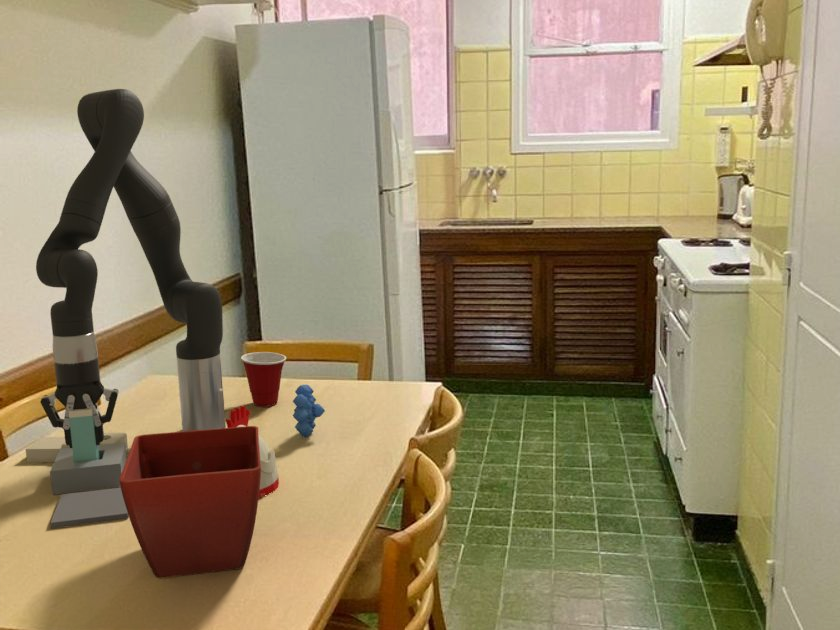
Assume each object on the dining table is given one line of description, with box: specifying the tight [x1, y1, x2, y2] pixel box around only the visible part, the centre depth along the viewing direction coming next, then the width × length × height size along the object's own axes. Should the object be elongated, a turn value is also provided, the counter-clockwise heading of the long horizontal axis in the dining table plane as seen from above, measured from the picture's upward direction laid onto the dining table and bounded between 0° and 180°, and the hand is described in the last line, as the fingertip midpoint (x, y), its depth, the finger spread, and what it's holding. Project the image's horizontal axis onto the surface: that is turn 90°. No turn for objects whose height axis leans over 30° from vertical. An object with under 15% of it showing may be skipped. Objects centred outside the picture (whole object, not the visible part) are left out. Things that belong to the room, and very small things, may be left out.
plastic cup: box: [240, 351, 287, 408], centre depth 201 cm, size 11×11×12 cm
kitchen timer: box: [225, 405, 280, 499], centre depth 150 cm, size 14×14×15 cm
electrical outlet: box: [25, 432, 129, 463], centre depth 169 cm, size 7×4×18 cm
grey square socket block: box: [49, 442, 128, 496], centre depth 157 cm, size 12×12×4 cm
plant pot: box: [119, 425, 261, 579], centre depth 124 cm, size 19×19×17 cm
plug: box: [69, 408, 100, 462], centre depth 155 cm, size 4×4×13 cm
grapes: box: [292, 384, 326, 438], centre depth 176 cm, size 12×7×12 cm, turn 176°
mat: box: [50, 487, 129, 529], centre depth 143 cm, size 12×12×1 cm
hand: (85, 444), depth 156 cm, fingers closed on plug, 4 cm apart
